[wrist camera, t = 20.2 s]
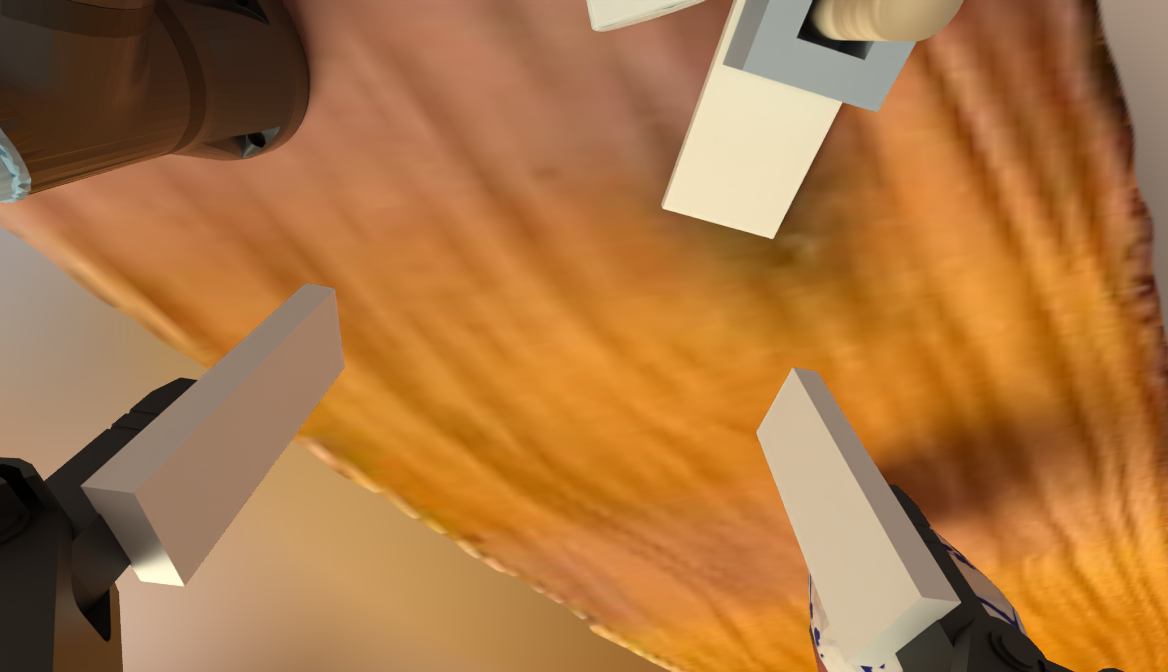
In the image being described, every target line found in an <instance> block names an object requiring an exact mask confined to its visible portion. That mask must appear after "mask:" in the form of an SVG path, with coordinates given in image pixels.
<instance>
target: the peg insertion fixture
mask: <svg viewBox="0 0 1168 672" xmlns="http://www.w3.org/2000/svg"><path fill="white" fill-rule="evenodd" d="M745 2H746V0H734V1H733V4H732V6H731V9H730V12H729V15H728V18H727V20H726V23H725V26H724V29H723V32H722V35H721V37H720V40H719V43H718V46H717V49H716V51H715V54H714V57H713V60H712V63H711V65H710V68H709V71H708V74H707V77H706V80H705V82H704V85H703V88H702V91H701V94H700V96H699V99H698V102H697V105H696V108H695V111H694V113H693V116H692V119H691V122H690V125H689V127H688V130H687V133H686V136H685V139H684V142H683V144H682V147H681V150H680V153H679V156H678V158H677V161H676V164H675V167H674V170H673V173H672V175H671V178H670V181H669V184H668V187H667V189H666V192H665V195H664V198H663V201H662V204H661V205H662V208H663V209H666V210H670V211H674V212H677V213H681V214H684V215H688V216H692V217H695V218H699V219H703V220H706V221H710V222H713V223H717V224H721V225H724V226H728V227H731V228H735V229H739V230H742V231H746V232H750V233H753V234H757V235H760V236H764V237H768V238H771V239H773V238H774V236H775V234H776V232H777V230H778V228H779V226H780V224H781V222H782V220H783V218H784V216H785V214H786V212H787V210H788V208H789V206H790V204H791V202H792V201H793V199H794V197H795V195H796V193H797V191H798V189H799V187H800V185H801V183H802V181H803V179H804V177H805V175H806V173H807V171H808V169H809V167H810V165H811V163H812V161H813V159H814V157H815V155H816V153H817V151H818V149H819V148H820V146H821V144H822V142H823V140H824V138H825V136H826V134H827V132H828V130H829V128H830V126H831V124H832V122H833V120H834V118H835V116H836V114H837V112H838V110H839V108H840V106H841V104H842V102H841V101H837V100H834V99H831V98H828V97H825V96H821V95H818V94H815V93H812V92H809V91H805V90H802V89H799V88H796V87H793V86H789V85H786V84H783V83H780V82H777V81H773V80H770V79H767V78H764V77H761V76H757V75H754V74H751V73H748V72H745V71H741V70H738V69H735V68H732V67H729V66H725V65H722V64H723V62H724V59H725V56H726V53H727V51H728V48H729V45H730V42H731V40H732V37H733V34H734V32H735V29H736V26H737V23H738V21H739V18H740V15H741V12H742V10H743V7H744V4H745Z"/></svg>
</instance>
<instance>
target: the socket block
mask: <svg viewBox="0 0 1168 672" xmlns="http://www.w3.org/2000/svg"><path fill="white" fill-rule="evenodd" d="M811 3H812V0H746V2H745V4H744V7H743V10H742V12H741V15H740V18H739V21H738V23H737V26H736V29H735V32H734V34H733V37H732V40H731V42H730V45H729V48H728V51H727V53H726V56H725V59H724V62H723V64H722V65H725V66H729V67H732V68H735V69H738V70H741V71H745V72H748V73H751V74H754V75H757V76H761V77H764V78H767V79H770V80H773V81H777V82H780V83H783V84H786V85H789V86H793V87H796V88H799V89H802V90H805V91H809V92H812V93H815V94H818V95H821V96H825V97H828V98H831V99H834V100H837V101H841V102H844V103H847V104H851V105H854V106H857V107H861V108H864V109H867V110H871V111H874V112H878V110H879V108H880V107H881V105H882V103H883V101H884V99H885V98H886V96H887V94H888V92H889V90H890V89H891V87H892V85H893V83H894V81H895V80H896V78H897V76H898V74H899V72H900V70H901V69H902V67H903V65H904V63H905V61H906V60H907V58H908V56H909V54H910V52H911V51H912V49H913V47H914V45H915V43H916V41H914V42H905V41H859V40H814V39H808V38H805V37H804V36H802V35H801V34H800V33H799V31H800V28H801V26H802V24H803V21H804V19H805V17H806V14H807V12H808V10H809V7H810V5H811Z"/></svg>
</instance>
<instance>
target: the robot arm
mask: <svg viewBox="0 0 1168 672" xmlns="http://www.w3.org/2000/svg"><path fill="white" fill-rule="evenodd" d="M308 90H309V83H308V70H307V64H306V59H305V55H304V51H303V48H302V44H301V42H300V39H299V36H298V34H297V31H296V29H295V26H294V24H293V22H292V20H291V18H290V16H289V14H288V12H287V11H286V9H285V7H284V6H283V4H282V2H281V1H280V0H0V202H8V203H10V202H16V201H19V200H22V199H24V198H26V196H28V195H29V194H33V193H36V192H40V191H43V190H46V189H50V188H53V187H57V186H60V185H63V184H67V183H70V182H74V181H77V180H81V179H84V178H87V177H91V176H94V175H98V174H101V173H104V172H108V171H111V170H115V169H118V168H121V167H125V166H128V165H132V164H135V163H139V162H142V161H146V160H150V159H153V158H157V157H160V156H163V155H167V154H174V155H182V156H190V157H198V158H206V159H214V160H242V159H248V158H252V157H255V156H258V155H261V154H264V153H267V152H269V151H272V150H274V149H276V148H278V147H280V146H281V145H283V144H284V143H285V142H287V141H288V140H289V139H290V138H291V137H292V136H293V134H294V133H295V132H296V130H297V129H298V127H299V125H300V124H301V122H302V119H303V117H304V114H305V110H306V106H307V101H308ZM343 369H344V358H343V350H342V342H341V334H340V326H339V317H338V309H337V301H336V293H335V288H331V287H325V286H319V285H313V284H307V283H305V284H304V285H303V286H302V287H301V288H300V289H299V290H298V291H297V292H295V293H294V294H293V295H292V296H291V297H290V298H289V299H288V300H287V301H285V302H284V303H283V304H282V305H281V306H280V307H279V308H278V309H277V310H275V311H274V312H273V313H272V314H271V315H270V316H269V317H268V318H267V319H265V320H264V321H263V322H262V323H261V324H260V325H259V326H258V327H257V328H255V329H254V330H253V331H252V332H251V333H250V334H249V335H248V336H247V337H245V338H244V339H243V340H242V341H241V342H240V343H239V344H238V345H237V346H235V347H234V348H233V349H232V350H231V351H230V352H229V353H228V354H227V355H225V356H224V357H223V358H222V359H221V360H220V361H219V362H218V363H217V364H215V365H214V366H213V367H212V368H211V369H210V370H209V371H208V372H207V373H205V374H204V375H203V376H202V377H201V378H200V379H199V380H193V379H187V378H179V379H177V380H174V381H172V382H170V383H168V384H166V385H164V386H162V387H160V388H158V389H156V390H154V391H152V392H151V393H149V394H148V395H147V396H146V397H145V398H143V399H142V400H141V401H140V402H139V403H137V404H136V405H135V406H134V407H133V408H131V409H130V412H129V414H124V415H123V416H122V417H121V418H119V419H118V420H117V421H116V422H115V423H113V424H112V427H111V429H106V430H105V431H104V432H103V433H101V434H100V435H99V436H98V437H97V438H95V439H94V440H93V441H92V442H91V443H89V444H88V445H87V446H86V447H85V448H83V449H82V450H81V451H80V452H79V453H77V454H76V455H75V456H74V457H73V458H71V459H70V460H69V461H68V462H66V463H65V464H64V465H63V466H62V467H61V468H59V469H58V470H57V471H56V472H54V473H53V474H52V475H51V476H50V477H48V479H46V480H45V481H43V480H42V478H41V476H40V475H39V474H38V472H37V471H36V469H35V468H34V466H33V465H32V464H30V463H28V462H26V461H24V460H21V459H20V458H2V457H0V672H123V664H122V644H121V625H120V605H119V591H118V589H117V587H116V584H115V581H116V580H117V579H118V577H119V576H120V575H121V574H122V573H123V572H124V570H125V569H126V568H127V567H128V566H129V565H131V566H132V568H133V569H134V571H135V572H136V574H137V575H138V577H139V579H140V580H141V581H144V582H153V583H162V584H170V585H179V586H185V585H186V584H187V582H188V581H189V580H190V578H191V577H192V576H193V574H194V573H195V571H196V570H197V569H198V567H199V566H200V565H201V563H202V562H203V561H204V559H205V557H206V556H207V555H208V554H209V552H210V551H211V550H212V548H213V547H214V545H215V544H216V543H217V541H218V540H219V539H220V537H221V536H222V535H223V533H224V532H225V530H226V529H227V528H228V526H229V525H230V524H231V522H232V521H233V519H234V518H235V517H236V515H237V514H238V512H239V511H240V510H241V508H242V507H243V506H244V504H245V503H246V502H247V500H248V499H249V497H250V496H251V495H252V493H253V492H254V491H255V489H256V488H257V486H258V485H259V484H260V482H261V481H262V480H263V478H264V477H265V476H266V474H267V473H268V471H269V470H270V469H271V467H272V466H273V465H274V463H275V462H276V460H277V459H278V458H279V456H280V455H281V454H282V452H283V451H284V450H285V448H286V447H287V445H288V444H289V443H290V441H291V440H292V439H293V437H294V436H295V434H296V433H297V432H298V430H299V429H300V428H301V426H302V425H303V424H304V422H305V421H306V419H307V418H308V417H309V415H310V414H311V413H312V411H313V410H314V408H315V407H316V406H317V404H318V403H319V402H320V400H321V399H322V397H323V396H324V395H325V393H326V392H327V391H328V389H329V388H330V387H331V385H332V384H333V382H334V381H335V380H336V378H337V377H338V376H339V374H340V373H341V371H342V370H343ZM756 433H757V436H758V439H759V441H760V444H761V446H762V449H763V452H764V454H765V457H766V459H767V462H768V465H769V467H770V470H771V472H772V475H773V478H774V480H775V483H776V485H777V488H778V491H779V493H780V496H781V498H782V501H783V504H784V506H785V509H786V511H787V514H788V517H789V519H790V522H791V524H792V527H793V530H794V532H795V535H796V538H797V540H798V543H799V545H800V548H801V551H802V553H803V556H804V558H805V561H806V564H807V566H808V569H809V571H810V574H811V577H812V579H813V582H814V584H815V587H816V590H817V592H818V595H819V597H820V600H821V603H822V605H823V608H824V610H825V613H826V616H827V618H828V621H829V623H830V626H831V629H832V631H833V634H834V637H835V639H836V642H837V644H838V647H839V650H840V652H841V655H842V657H843V660H844V663H845V664H852V665H860V666H869V667H877V668H879V667H880V666H882V665H883V664H884V663H885V662H887V661H888V660H889V659H891V658H892V657H893V656H894V655H896V657H897V659H898V661H899V663H900V665H901V667H902V669H903V672H1074V671H1071V670H1069V669H1067V668H1065V667H1062V666H1060V665H1058V664H1056V663H1053V662H1051V661H1049V660H1047V659H1046V658H1045V656H1044V654H1043V653H1042V652H1041V651H1040V650H1039V649H1038V648H1037V646H1036V645H1035V644H1034V643H1033V642H1032V641H1031V640H1030V639H1029V638H1028V637H1027V636H1026V635H1024V634H1023V633H1022V632H1021V631H1019V630H1018V629H1017V628H1016V627H1014V626H1013V625H1011V624H1009V623H1007V622H1005V621H1004V620H1002V619H1000V618H998V617H994V616H990V615H989V613H988V612H987V611H986V609H985V608H984V606H983V605H982V603H981V602H980V600H979V599H978V597H977V596H976V594H975V593H974V591H973V590H972V588H971V587H970V585H969V583H968V582H967V580H966V579H965V577H964V576H963V574H962V573H961V571H960V570H959V568H958V567H957V565H956V564H955V562H954V561H953V559H952V558H951V556H950V555H949V553H948V552H947V550H946V549H945V547H942V546H941V543H942V542H941V541H940V539H939V538H938V536H937V535H936V533H935V532H934V530H932V529H930V524H929V523H928V521H927V520H926V518H925V517H924V515H923V514H922V512H921V511H920V509H919V507H918V506H917V505H916V504H915V503H914V502H913V501H912V500H911V499H910V498H909V497H908V496H907V495H906V494H905V493H904V492H903V491H902V490H901V489H900V488H899V487H898V486H895V485H888V484H887V482H886V481H885V479H884V478H883V476H882V474H881V473H880V471H879V470H878V468H877V466H876V465H875V463H874V462H873V460H872V458H871V457H870V455H869V454H868V452H867V450H866V449H865V447H864V446H863V444H862V442H861V441H860V439H859V438H858V436H857V434H856V433H855V431H854V430H853V428H852V426H851V425H850V423H849V422H848V420H847V418H846V417H845V415H844V414H843V412H842V410H841V409H840V407H839V406H838V404H837V402H836V401H835V399H834V398H833V396H832V394H831V393H830V391H829V390H828V388H827V386H826V385H825V383H824V382H823V380H822V378H821V377H820V375H819V374H818V372H817V371H811V370H805V369H800V368H794V367H793V368H792V370H791V371H790V373H789V375H788V377H787V379H786V380H785V382H784V384H783V386H782V388H781V389H780V391H779V393H778V395H777V397H776V398H775V400H774V402H773V404H772V405H771V407H770V409H769V411H768V413H767V414H766V416H765V418H764V420H763V422H762V423H761V425H760V427H759V429H758V431H757V432H756ZM1098 672H1124V671H1121V670H1118V669H1116V668H1106V669H1102V670H1100V671H1098Z"/></svg>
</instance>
